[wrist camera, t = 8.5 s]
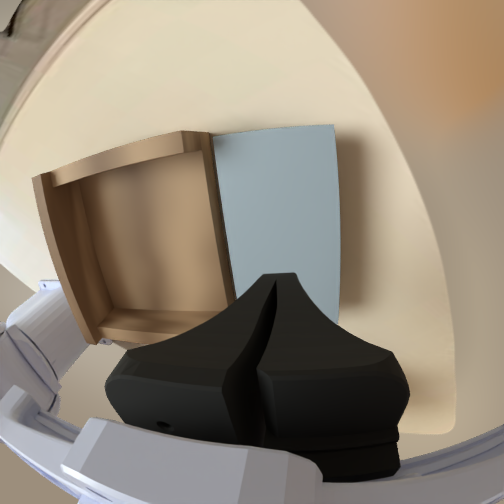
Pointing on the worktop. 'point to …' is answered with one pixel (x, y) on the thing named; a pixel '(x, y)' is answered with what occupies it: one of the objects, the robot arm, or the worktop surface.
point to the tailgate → (283, 208)
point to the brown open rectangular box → (138, 238)
